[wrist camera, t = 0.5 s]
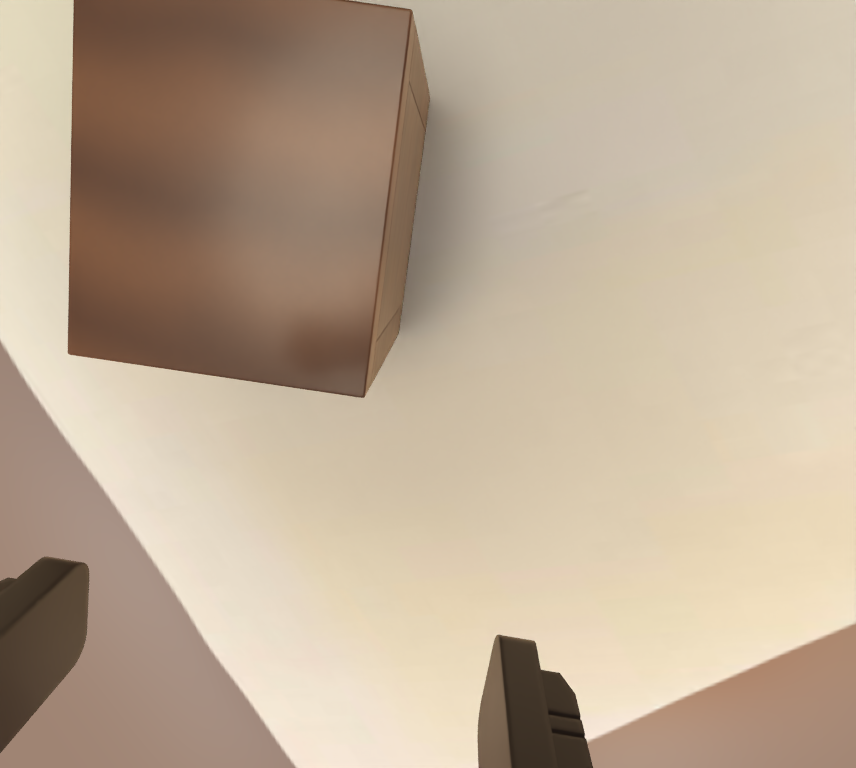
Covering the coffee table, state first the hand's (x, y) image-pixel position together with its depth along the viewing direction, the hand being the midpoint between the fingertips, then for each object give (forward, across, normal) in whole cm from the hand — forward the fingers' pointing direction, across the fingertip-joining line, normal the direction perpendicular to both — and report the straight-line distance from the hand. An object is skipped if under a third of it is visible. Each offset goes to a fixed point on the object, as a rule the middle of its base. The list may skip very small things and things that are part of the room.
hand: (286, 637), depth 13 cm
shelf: (+27, +6, -8) cm, 29 cm away
